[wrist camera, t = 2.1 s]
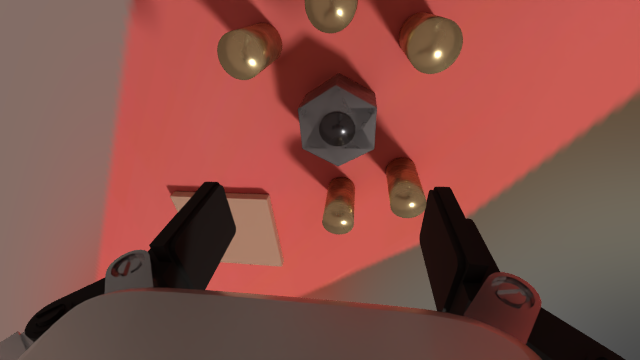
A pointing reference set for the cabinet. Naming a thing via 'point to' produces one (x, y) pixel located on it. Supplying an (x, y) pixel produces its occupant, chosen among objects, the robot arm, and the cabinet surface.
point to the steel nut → (338, 120)
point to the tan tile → (248, 229)
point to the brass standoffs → (330, 17)
